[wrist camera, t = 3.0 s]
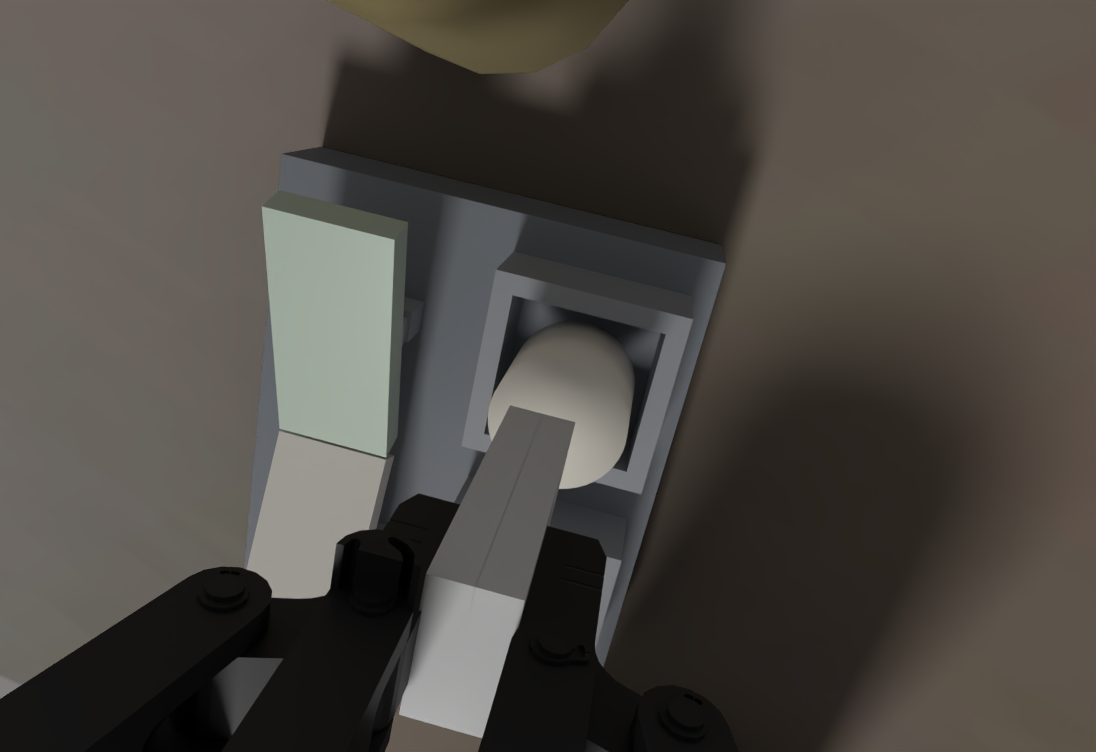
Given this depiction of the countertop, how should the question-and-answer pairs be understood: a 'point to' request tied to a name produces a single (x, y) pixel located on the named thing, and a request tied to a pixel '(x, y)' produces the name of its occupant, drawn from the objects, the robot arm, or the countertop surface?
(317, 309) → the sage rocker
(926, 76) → the countertop surface
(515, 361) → the ivory button
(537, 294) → the panel
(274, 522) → the block
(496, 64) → the squeeze bottle
